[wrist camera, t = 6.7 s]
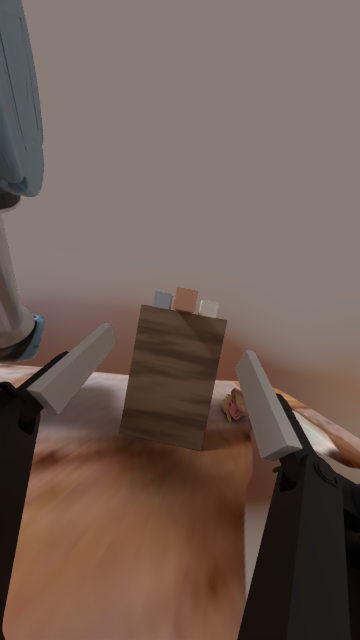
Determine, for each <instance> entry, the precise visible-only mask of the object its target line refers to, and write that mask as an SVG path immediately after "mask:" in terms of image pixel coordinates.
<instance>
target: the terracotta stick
mask: <svg viewBox="0 0 360 640" xmlns="http://www.w3.org/2000/svg"><path fill="white" fill-rule="evenodd" d="M197 294H198V291H196V290H190V289H185V288H179V287H177V289H176V295H175V300H174V306H173V309H175V310H176V311H180V312H185V313H193V312H194V310H195V305H196V300H197Z"/></svg>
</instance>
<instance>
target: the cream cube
mask: <svg viewBox="0 0 360 640" xmlns="http://www.w3.org/2000/svg"><path fill="white" fill-rule="evenodd" d="M218 305H219V303H218V302H213V301H208V300H202V301H201V304H200V309H199V314H198V315H202V316H207V317H212V318H216V316H217V310H218Z"/></svg>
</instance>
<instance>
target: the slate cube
mask: <svg viewBox="0 0 360 640" xmlns="http://www.w3.org/2000/svg"><path fill="white" fill-rule="evenodd" d="M172 297H173V296H172V295H171V294H169V293H163V292H158V291H155V297H154V303H153V307H158V308H164V309H169V310H170V309H171V303H172Z"/></svg>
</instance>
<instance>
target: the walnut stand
mask: <svg viewBox="0 0 360 640" xmlns="http://www.w3.org/2000/svg"><path fill="white" fill-rule="evenodd" d="M226 324H227V320H223V319H218V318H212V317H207V316H202V315H196V314H191V313H185V312H180V311H175V310H169V309H164V308H158V307H153V306H147V305H141V311H140V317H139V322H138V328H137V334H136V340H135V345H134V351H133V357H132V363H131V369H130V374H129V380H128V386H127V392H126V397H125V403H124V409H123V415H122V421H121V426H120V432H119V433H120V434H125V435H129V436H134V437H139V438H143V439H148V440H152V441H157V442H162V443H166V444H171V445H175V446H180V447H184V448H189V449H194V450H198V451H201V448H202V443H203V438H204V433H205V429H206V424H207V419H208V414H209V409H210V404H211V399H212V394H213V389H214V384H215V379H216V374H217V369H218V363H219V359H220V354H221V349H222V343H223V339H224V334H225V329H226Z"/></svg>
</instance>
